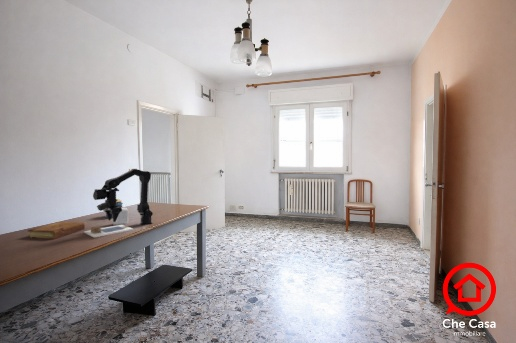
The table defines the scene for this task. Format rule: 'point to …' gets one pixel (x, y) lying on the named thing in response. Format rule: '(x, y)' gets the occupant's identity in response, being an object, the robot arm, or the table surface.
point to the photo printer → (122, 217)
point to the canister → (117, 205)
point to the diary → (56, 230)
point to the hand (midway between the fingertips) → (112, 221)
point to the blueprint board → (107, 230)
